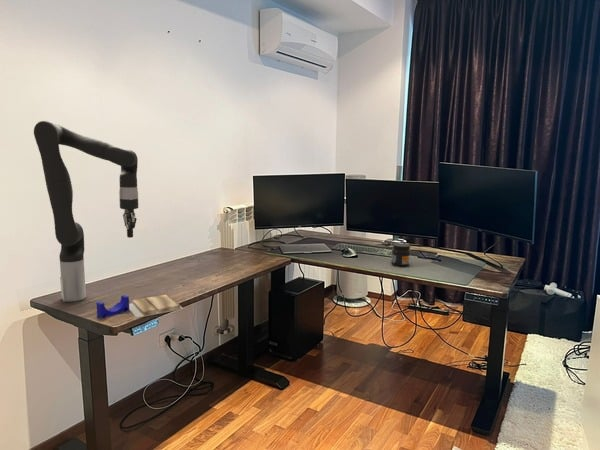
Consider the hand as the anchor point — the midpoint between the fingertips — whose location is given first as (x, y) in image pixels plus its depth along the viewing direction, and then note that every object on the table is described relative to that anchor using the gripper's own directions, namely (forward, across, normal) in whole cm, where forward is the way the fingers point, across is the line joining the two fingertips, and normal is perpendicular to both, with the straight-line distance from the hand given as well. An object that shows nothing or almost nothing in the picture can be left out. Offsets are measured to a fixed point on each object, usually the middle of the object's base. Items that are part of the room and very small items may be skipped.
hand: (130, 237), depth 202 cm
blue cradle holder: (+27, +17, -12) cm, 34 cm away
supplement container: (+25, +23, +144) cm, 148 cm away
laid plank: (+26, +18, 0) cm, 32 cm away
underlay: (+26, +18, +4) cm, 33 cm away
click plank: (+26, +18, +8) cm, 33 cm away
